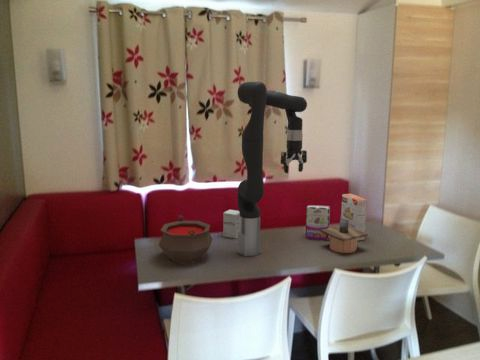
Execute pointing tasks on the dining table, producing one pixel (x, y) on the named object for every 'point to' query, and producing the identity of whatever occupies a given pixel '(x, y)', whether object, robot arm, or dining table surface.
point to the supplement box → (231, 223)
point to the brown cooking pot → (185, 240)
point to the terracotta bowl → (343, 245)
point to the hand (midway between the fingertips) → (293, 172)
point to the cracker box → (354, 212)
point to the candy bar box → (317, 221)
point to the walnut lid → (343, 231)
